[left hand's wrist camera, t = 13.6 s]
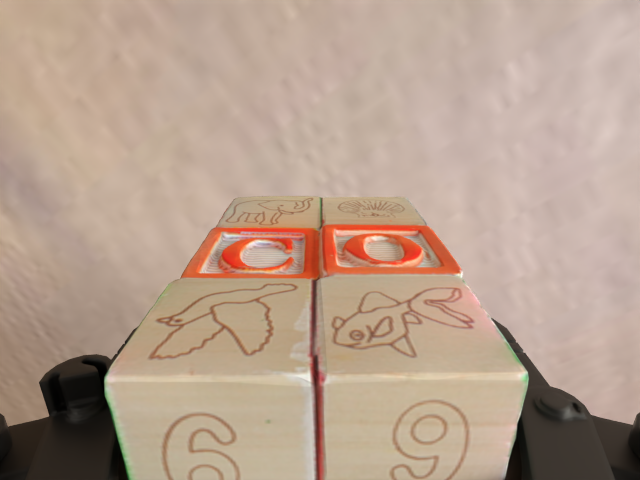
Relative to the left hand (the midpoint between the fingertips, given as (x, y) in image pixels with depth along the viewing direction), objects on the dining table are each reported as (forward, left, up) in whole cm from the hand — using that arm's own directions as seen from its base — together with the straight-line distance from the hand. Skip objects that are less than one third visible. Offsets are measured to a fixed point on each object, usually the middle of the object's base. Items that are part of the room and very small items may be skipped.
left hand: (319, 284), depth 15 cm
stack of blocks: (+7, -1, -1) cm, 8 cm away
